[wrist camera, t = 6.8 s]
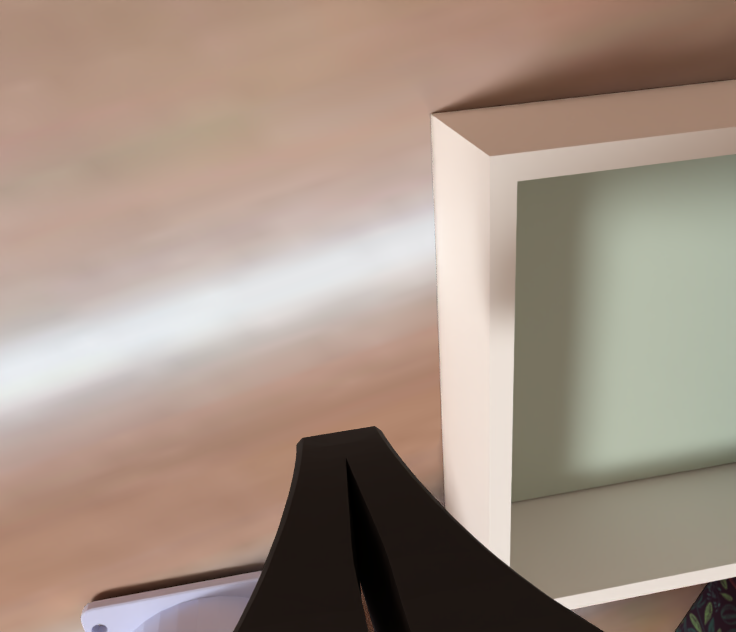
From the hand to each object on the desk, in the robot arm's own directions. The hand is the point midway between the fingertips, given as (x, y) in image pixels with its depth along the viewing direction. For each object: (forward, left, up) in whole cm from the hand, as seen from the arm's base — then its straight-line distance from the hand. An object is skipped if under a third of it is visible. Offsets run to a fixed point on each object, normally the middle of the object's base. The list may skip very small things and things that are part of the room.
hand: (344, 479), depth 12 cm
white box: (-3, -12, -9) cm, 16 cm away
